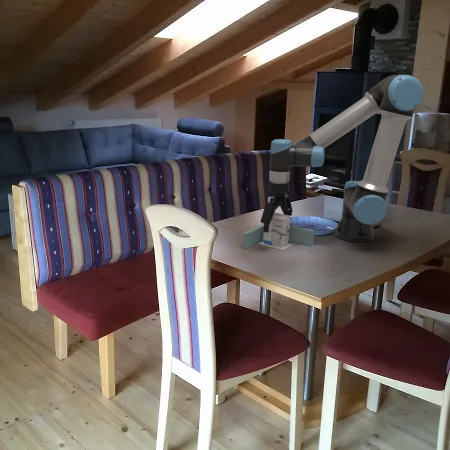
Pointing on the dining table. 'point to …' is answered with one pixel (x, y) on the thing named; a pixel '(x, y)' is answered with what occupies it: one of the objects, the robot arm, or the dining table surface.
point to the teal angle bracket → (295, 236)
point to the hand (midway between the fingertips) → (276, 235)
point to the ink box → (279, 230)
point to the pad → (275, 246)
